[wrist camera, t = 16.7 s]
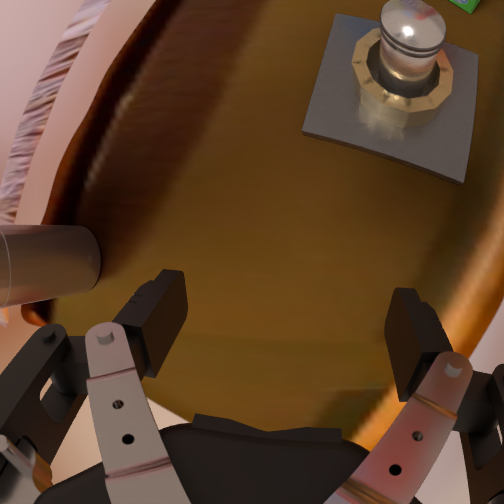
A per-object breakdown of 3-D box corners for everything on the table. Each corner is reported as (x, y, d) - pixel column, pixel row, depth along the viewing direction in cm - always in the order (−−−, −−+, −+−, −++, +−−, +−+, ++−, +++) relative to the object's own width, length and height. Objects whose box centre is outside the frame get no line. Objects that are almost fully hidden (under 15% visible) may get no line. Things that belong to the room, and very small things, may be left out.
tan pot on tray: (304, 135, 30) (293, 115, 25) (337, 20, 28) (331, -10, 23) (458, 185, 25) (478, 175, 20) (474, 61, 23) (488, 35, 18)
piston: (372, 99, 26) (375, 34, 16) (381, 60, 25) (383, -10, 15) (419, 114, 25) (445, 55, 14) (426, 74, 24) (447, 8, 14)
